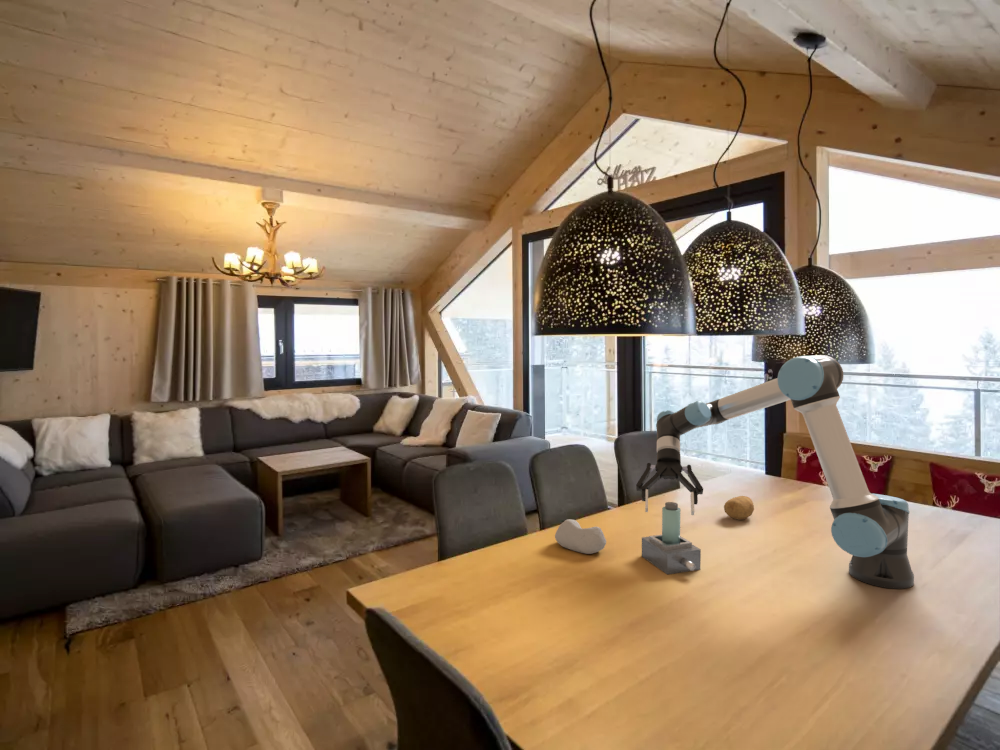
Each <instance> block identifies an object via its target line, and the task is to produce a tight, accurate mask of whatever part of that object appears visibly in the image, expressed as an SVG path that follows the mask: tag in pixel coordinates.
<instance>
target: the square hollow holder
mask: <svg viewBox="0 0 1000 750" xmlns="http://www.w3.org/2000/svg"><path fill="white" fill-rule="evenodd" d="M701 550H702V549H701V548H699V547H697V546H696V545H694V544H693V542H691V541H690V540H688V539H687V538H685V537H684V536H683V537H682V535H680V543H675V544H665V543H663V542H662V534H656V535H649V536H642V537H641V557H642V558H643V559H645V560H646V561H648V562H649V563H650V564H652V565H653V566H655V567H656V568H658V569H659V570H660V571H662V572H663V573H665V574H666V575H672V574H679V573H687V572H693V571H694V572H695V571H699V570H701V558H702V557H701V555H702V554H701Z"/></svg>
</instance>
